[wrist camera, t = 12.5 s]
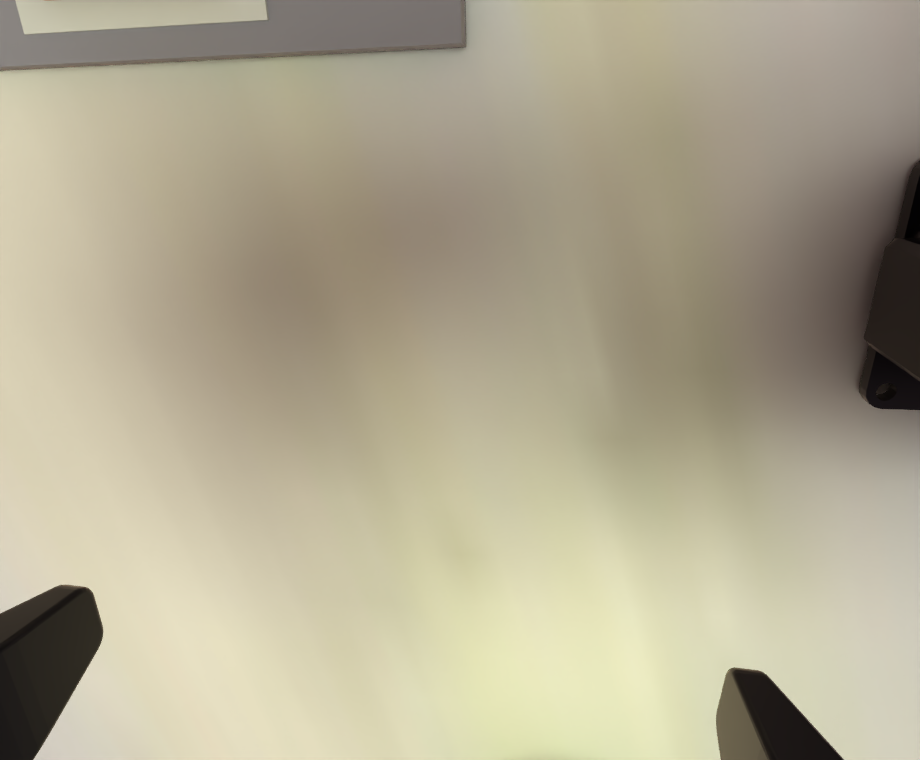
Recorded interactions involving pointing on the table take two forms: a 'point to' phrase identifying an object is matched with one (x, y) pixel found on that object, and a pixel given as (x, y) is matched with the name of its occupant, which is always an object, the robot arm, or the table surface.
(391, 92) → the table surface
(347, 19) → the mat
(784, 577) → the table surface
